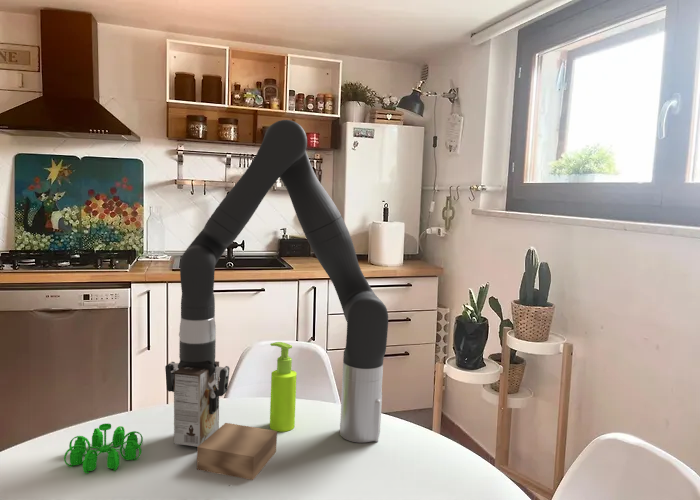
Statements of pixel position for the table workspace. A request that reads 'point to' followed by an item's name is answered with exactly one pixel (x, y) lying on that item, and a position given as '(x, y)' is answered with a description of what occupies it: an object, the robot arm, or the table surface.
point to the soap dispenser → (283, 392)
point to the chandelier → (103, 448)
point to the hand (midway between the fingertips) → (197, 411)
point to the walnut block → (237, 451)
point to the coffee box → (193, 406)
